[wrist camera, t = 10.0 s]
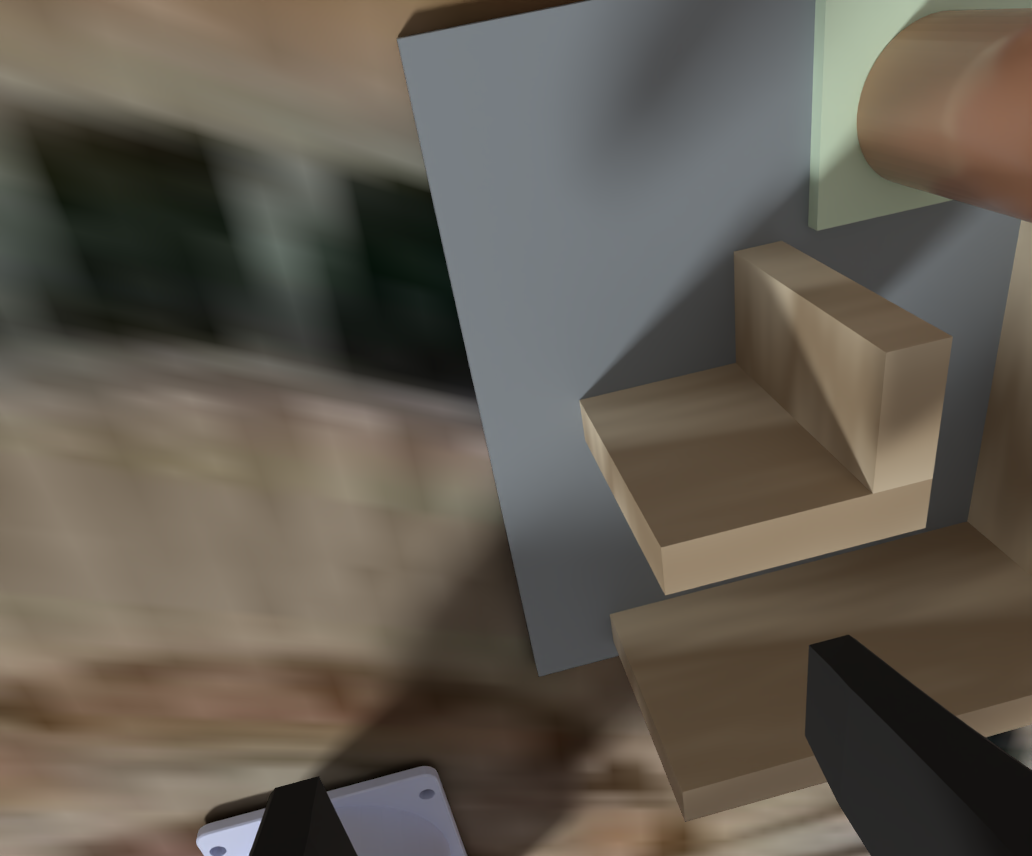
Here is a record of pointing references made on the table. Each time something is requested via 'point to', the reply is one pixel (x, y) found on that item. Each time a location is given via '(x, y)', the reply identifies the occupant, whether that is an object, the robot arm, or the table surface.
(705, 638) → the tan piece
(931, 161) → the peg
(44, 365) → the table surface
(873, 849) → the robot arm
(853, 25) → the pad
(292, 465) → the table surface
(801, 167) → the board
